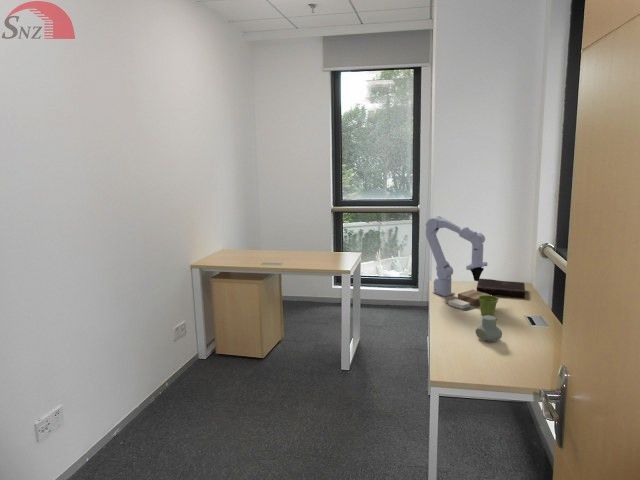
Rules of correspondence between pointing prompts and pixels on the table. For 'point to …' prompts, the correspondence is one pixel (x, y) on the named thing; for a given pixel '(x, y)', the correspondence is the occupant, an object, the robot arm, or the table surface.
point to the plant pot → (487, 304)
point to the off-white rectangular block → (459, 303)
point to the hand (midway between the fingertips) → (476, 280)
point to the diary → (501, 288)
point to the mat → (467, 307)
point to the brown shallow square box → (471, 297)
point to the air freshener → (489, 329)
